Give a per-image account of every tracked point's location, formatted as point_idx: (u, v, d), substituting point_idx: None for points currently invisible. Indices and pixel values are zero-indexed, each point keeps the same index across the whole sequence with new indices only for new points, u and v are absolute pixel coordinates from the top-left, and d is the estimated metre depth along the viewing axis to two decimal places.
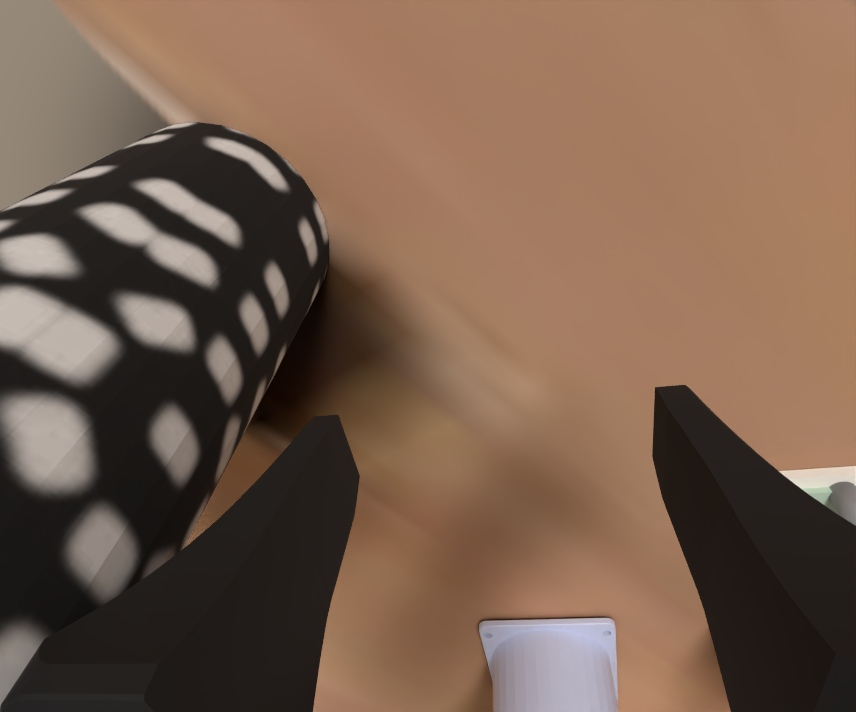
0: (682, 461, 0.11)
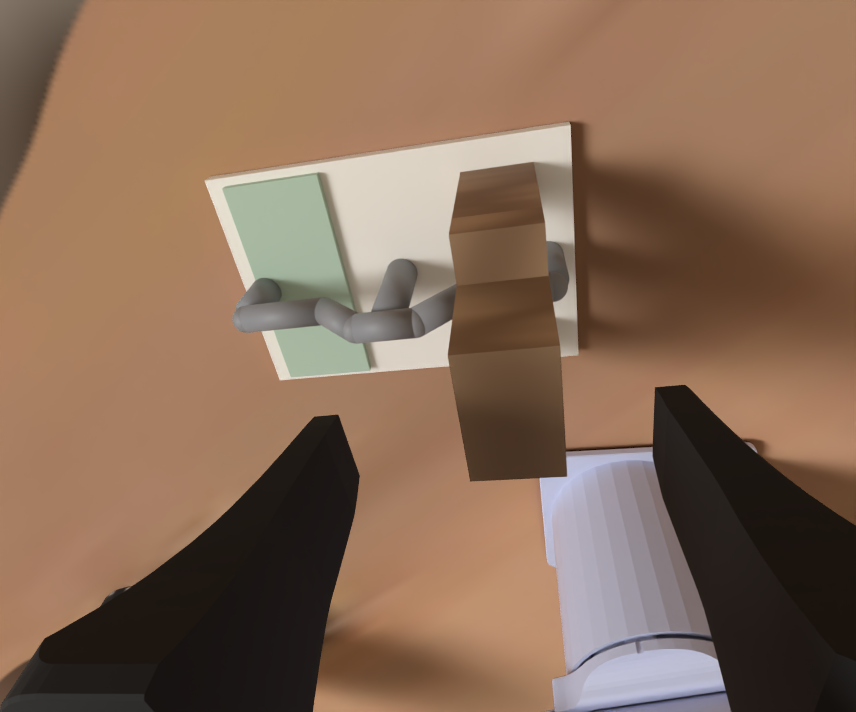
0: (682, 461, 0.11)
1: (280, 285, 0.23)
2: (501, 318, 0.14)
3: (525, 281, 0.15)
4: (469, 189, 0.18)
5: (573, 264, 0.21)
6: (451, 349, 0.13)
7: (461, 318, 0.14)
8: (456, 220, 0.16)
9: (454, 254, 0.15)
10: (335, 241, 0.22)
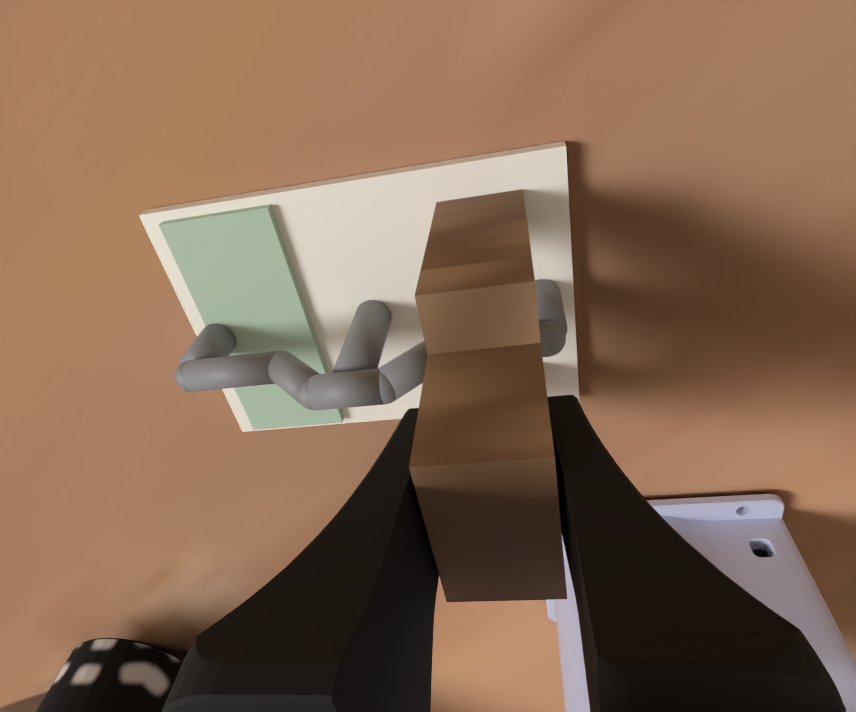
0: (556, 468, 0.11)
1: (234, 331, 0.20)
2: (479, 407, 0.11)
3: (512, 351, 0.12)
4: (445, 227, 0.15)
5: (572, 304, 0.18)
6: (414, 457, 0.10)
7: (430, 406, 0.11)
8: (426, 273, 0.13)
9: (423, 318, 0.12)
10: (294, 282, 0.18)
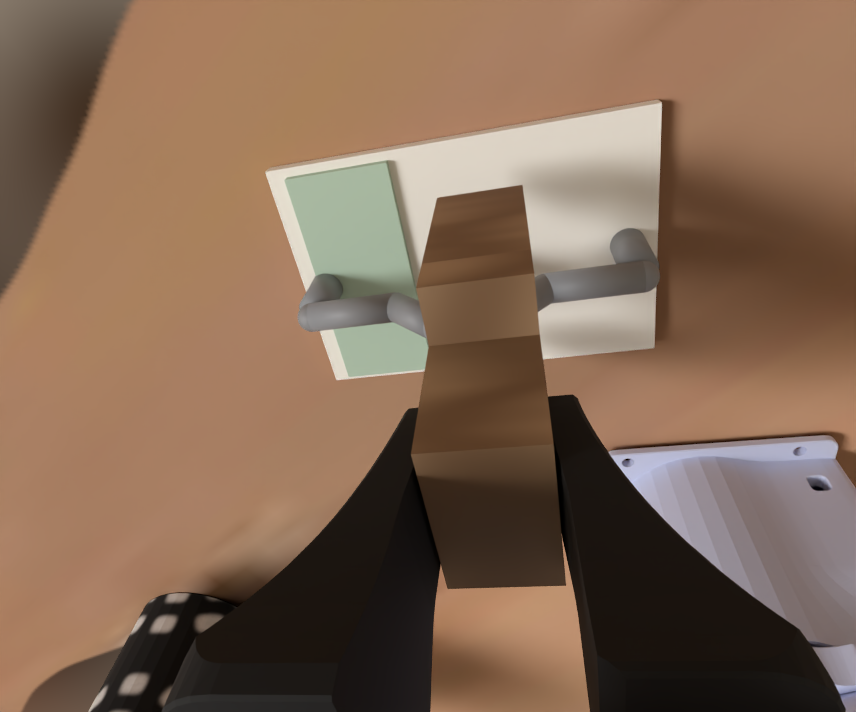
0: (556, 469, 0.11)
1: (342, 281, 0.22)
2: (480, 397, 0.11)
3: (511, 342, 0.13)
4: (446, 222, 0.15)
5: (655, 252, 0.20)
6: (416, 444, 0.10)
7: (431, 396, 0.12)
8: (427, 266, 0.13)
9: (424, 310, 0.13)
10: (402, 233, 0.20)
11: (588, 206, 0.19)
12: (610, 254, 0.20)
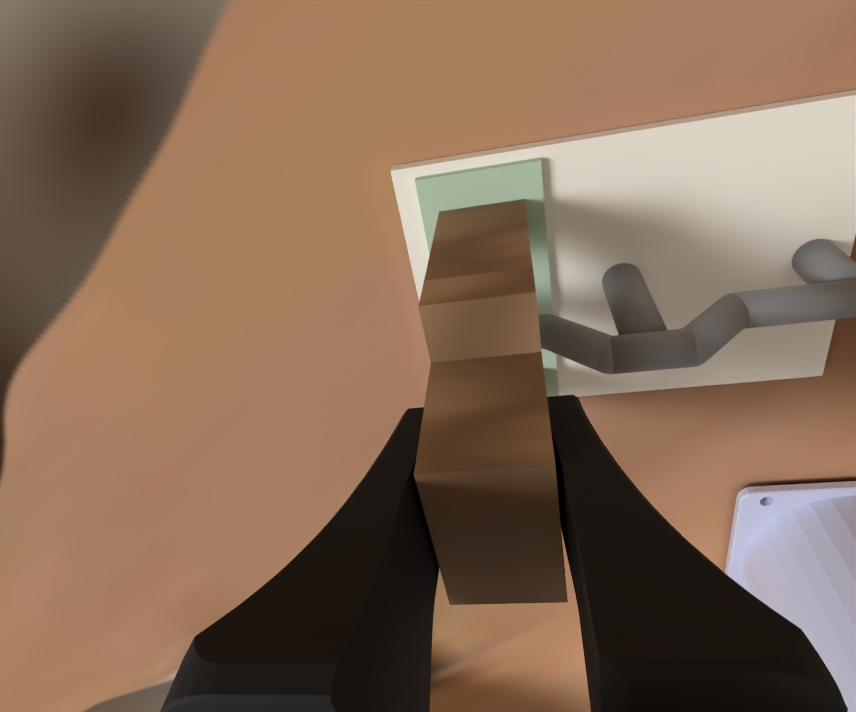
0: (557, 468, 0.11)
1: None
2: (482, 416, 0.11)
3: (513, 359, 0.13)
4: (448, 237, 0.15)
5: None
6: (419, 464, 0.11)
7: (433, 414, 0.12)
8: (429, 283, 0.13)
9: (426, 328, 0.13)
10: None
11: (774, 212, 0.16)
12: (791, 269, 0.17)
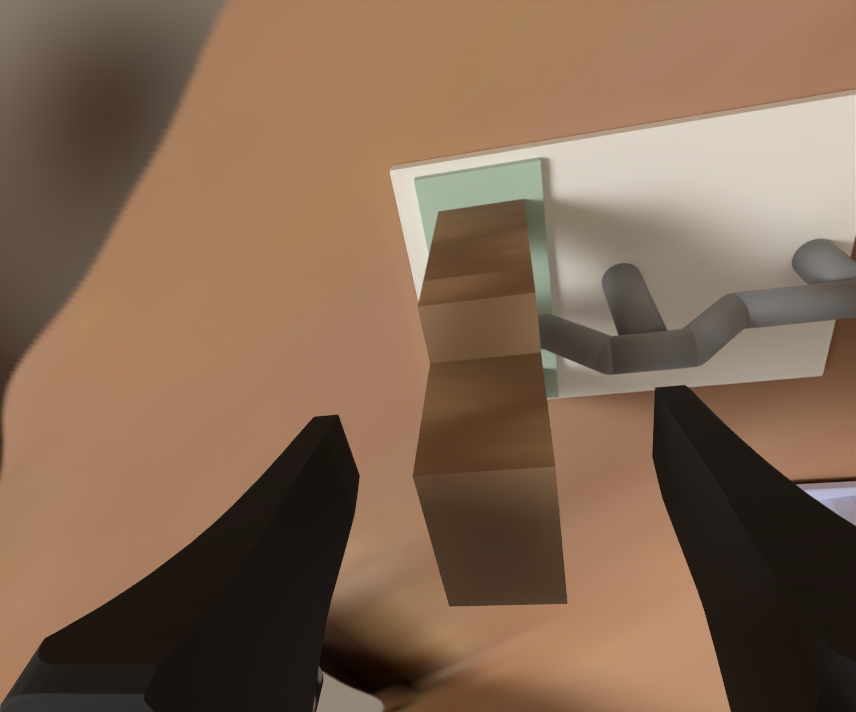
0: (682, 461, 0.11)
1: None
2: (481, 417, 0.11)
3: (513, 360, 0.13)
4: (447, 237, 0.15)
5: None
6: (418, 465, 0.10)
7: (432, 415, 0.12)
8: (428, 284, 0.13)
9: (425, 328, 0.13)
10: (546, 243, 0.17)
11: (774, 212, 0.16)
12: (791, 269, 0.17)
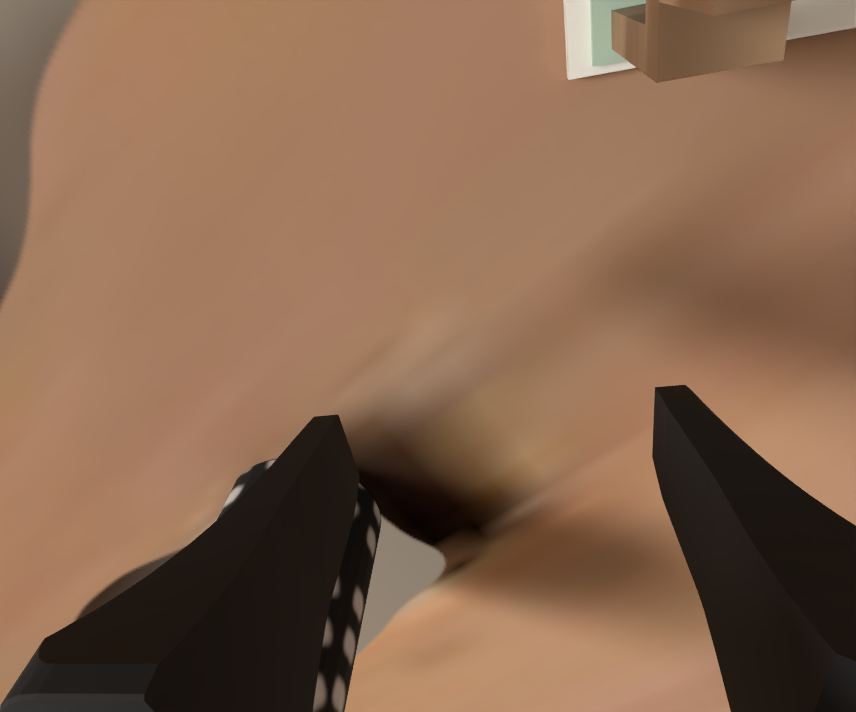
0: (682, 460, 0.11)
1: None
2: None
3: None
4: None
5: None
6: None
7: None
8: None
9: None
10: None
11: None
12: None
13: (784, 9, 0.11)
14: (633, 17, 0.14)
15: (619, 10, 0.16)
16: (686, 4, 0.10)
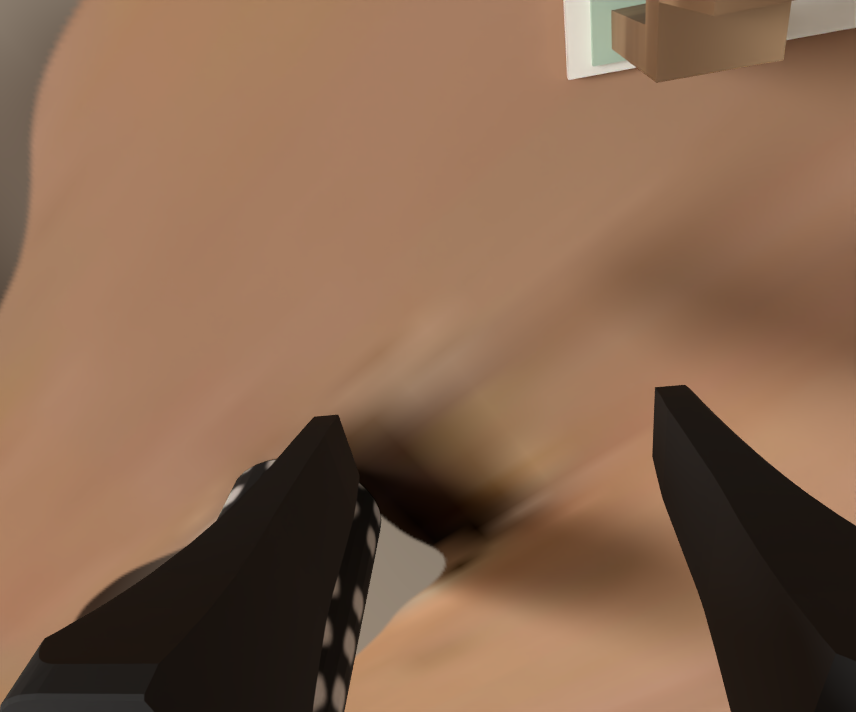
0: (682, 460, 0.11)
1: None
2: None
3: None
4: None
5: None
6: None
7: None
8: None
9: None
10: None
11: None
12: None
13: (784, 9, 0.11)
14: (633, 17, 0.14)
15: (619, 10, 0.16)
16: (686, 4, 0.10)
